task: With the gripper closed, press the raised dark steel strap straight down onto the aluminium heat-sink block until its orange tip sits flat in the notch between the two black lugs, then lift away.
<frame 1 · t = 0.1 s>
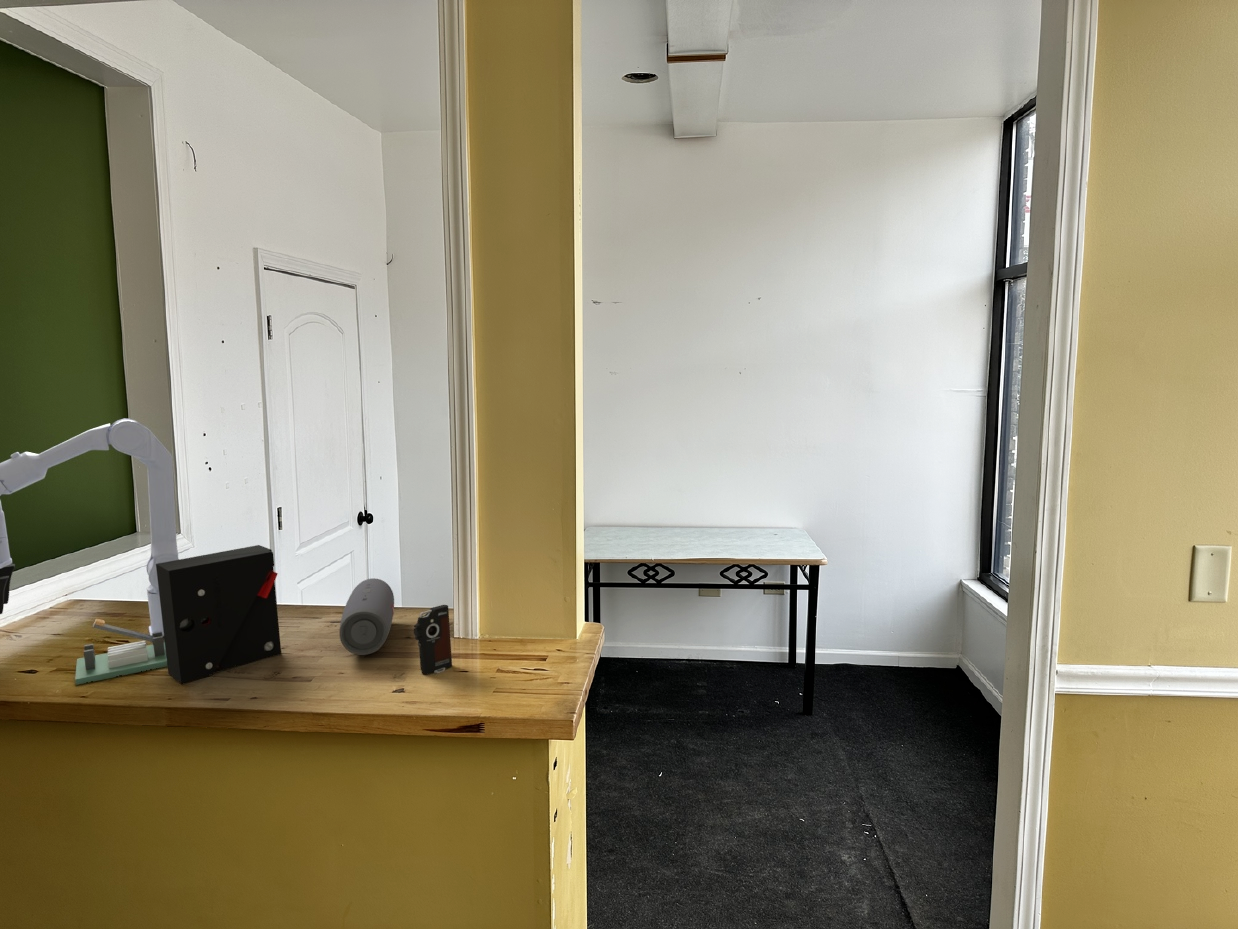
heatsink base: (128, 663, 149), on the worktop
camera: (435, 671, 140), on the worktop
bluetooth speaker: (371, 641, 157), on the worktop
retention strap: (128, 631, 148), point 6 cm above the worktop, hinge at 28.0°
electrical component: (226, 664, 147), on the worktop
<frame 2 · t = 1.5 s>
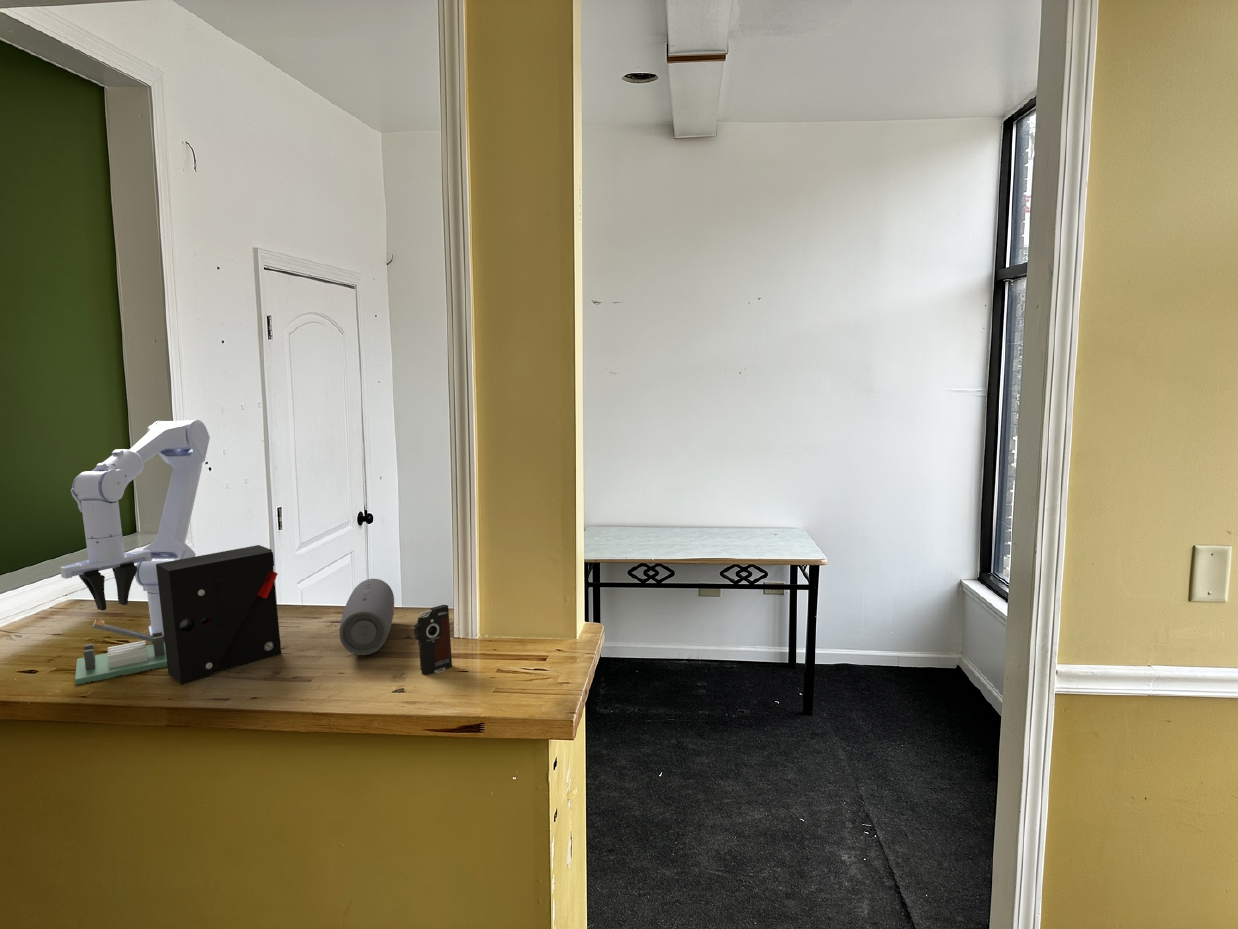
hand: (112, 606, 151), 10 cm above the worktop, tool pointing down, fingers open, 3 cm apart
nothing on the worktop moved.
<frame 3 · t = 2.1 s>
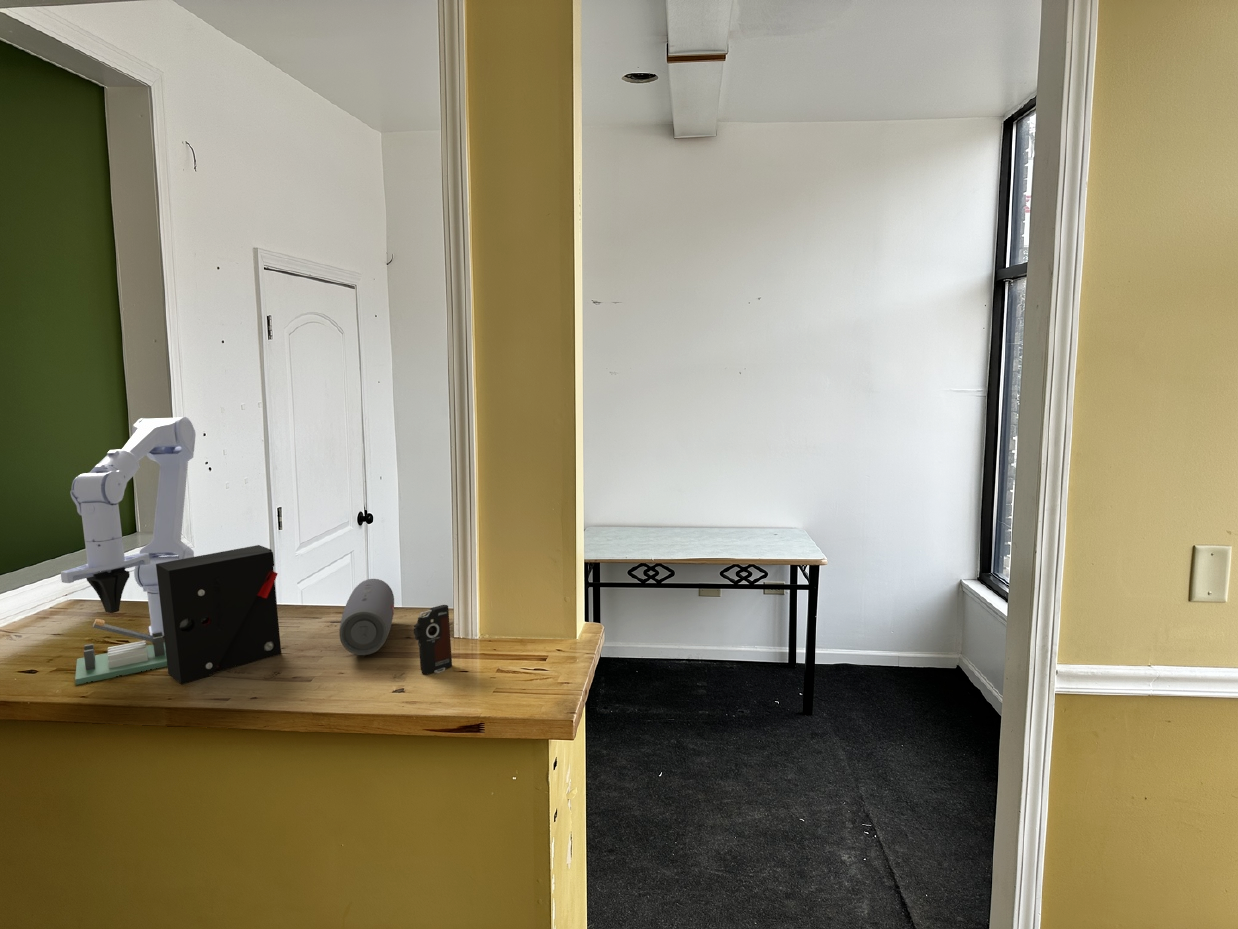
hand: (112, 611, 147), 10 cm above the worktop, tool pointing down, fingers closed
nothing on the worktop moved.
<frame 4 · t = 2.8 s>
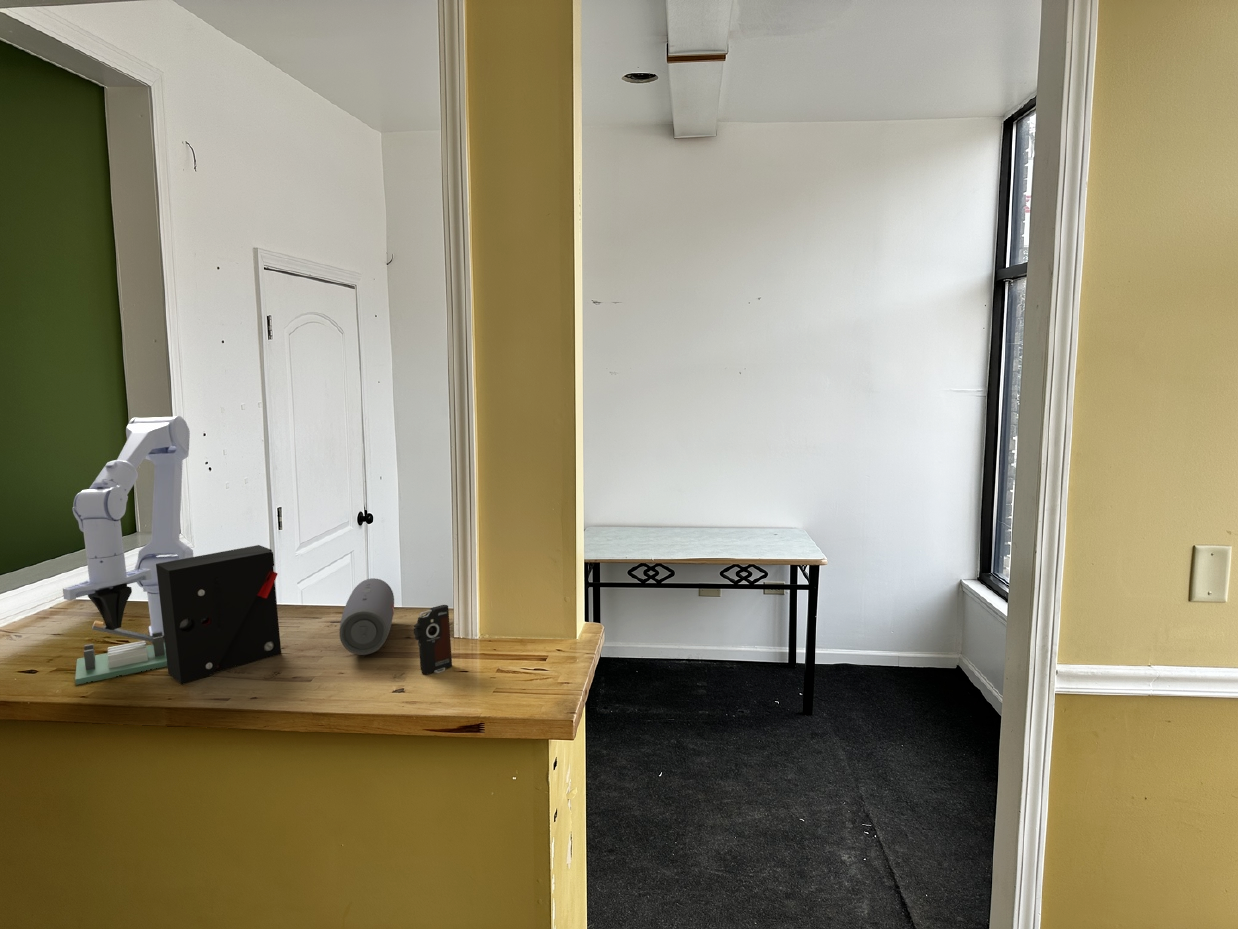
hand: (114, 627, 147), 7 cm above the worktop, tool pointing down, fingers closed
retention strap: (128, 632, 148), point 6 cm above the worktop, hinge at 26.0°, touching gripper
everything else where it was.
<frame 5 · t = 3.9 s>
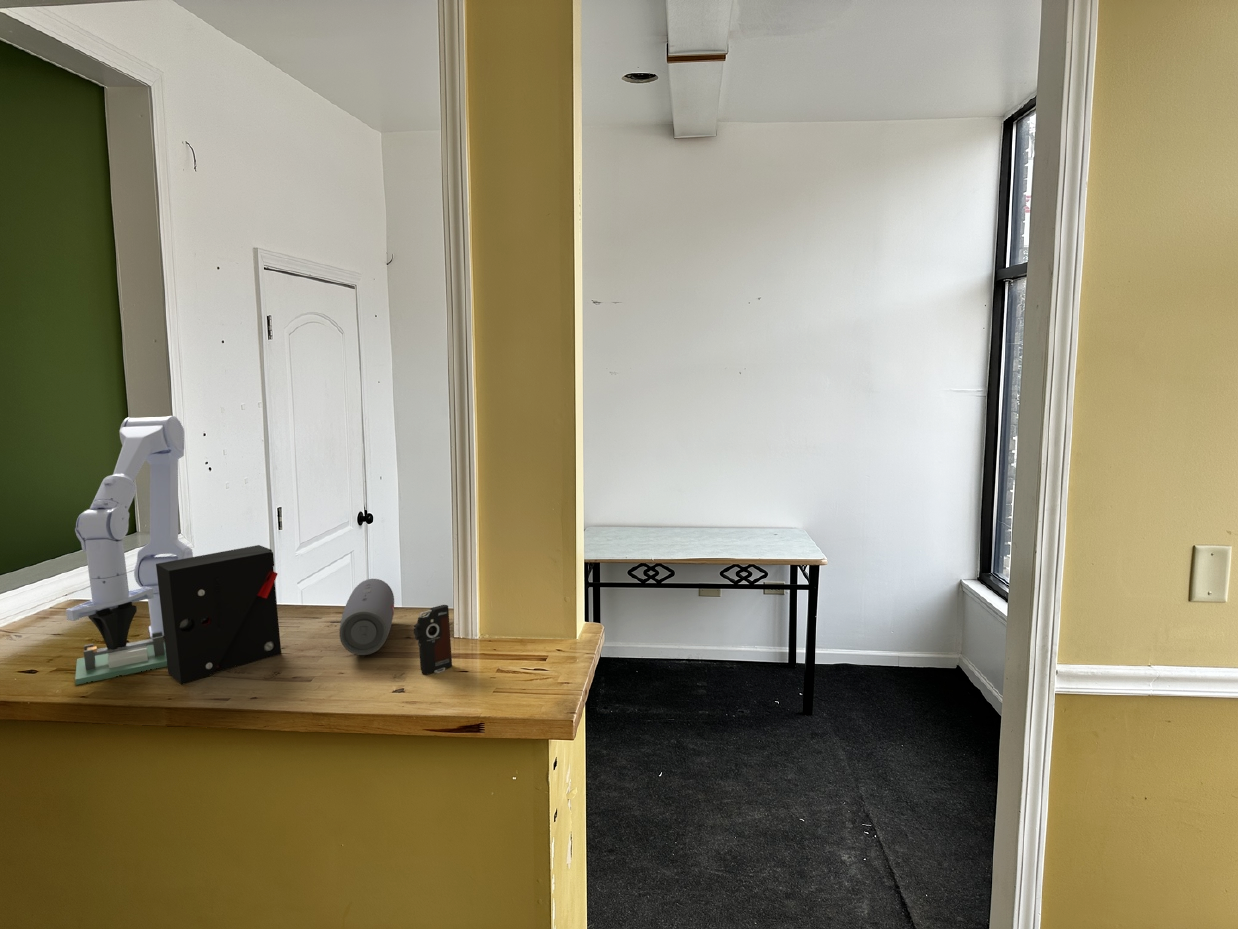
hand: (116, 647, 147), 4 cm above the worktop, tool pointing down, fingers closed, pressing on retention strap
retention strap: (124, 645, 148), point 4 cm above the worktop, hinge at -0.4°, touching gripper, heatsink base
everything else where it was.
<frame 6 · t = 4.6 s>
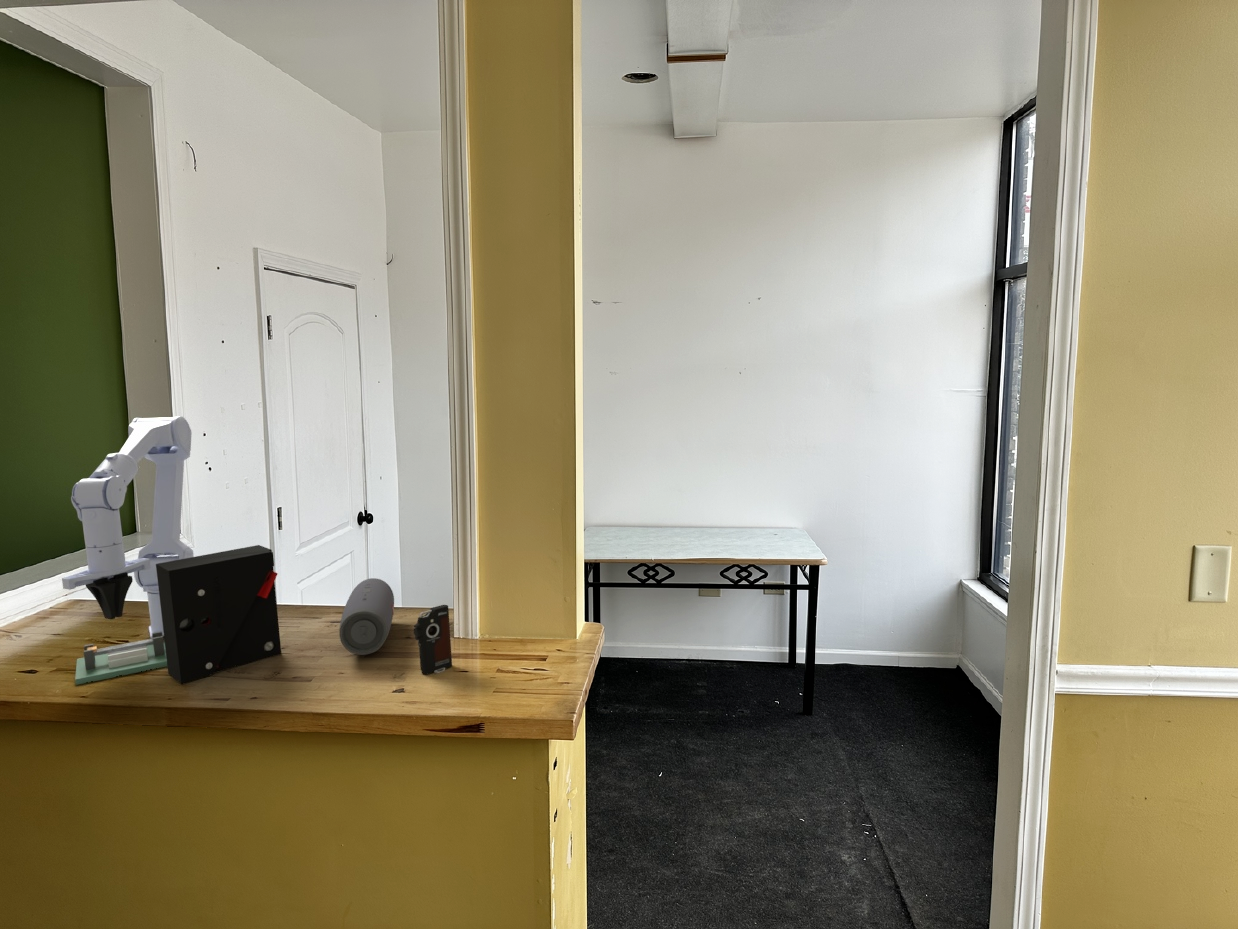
hand: (113, 617, 147), 9 cm above the worktop, tool pointing down, fingers closed
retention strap: (124, 645, 148), point 4 cm above the worktop, hinge at -0.4°, touching heatsink base
everything else where it was.
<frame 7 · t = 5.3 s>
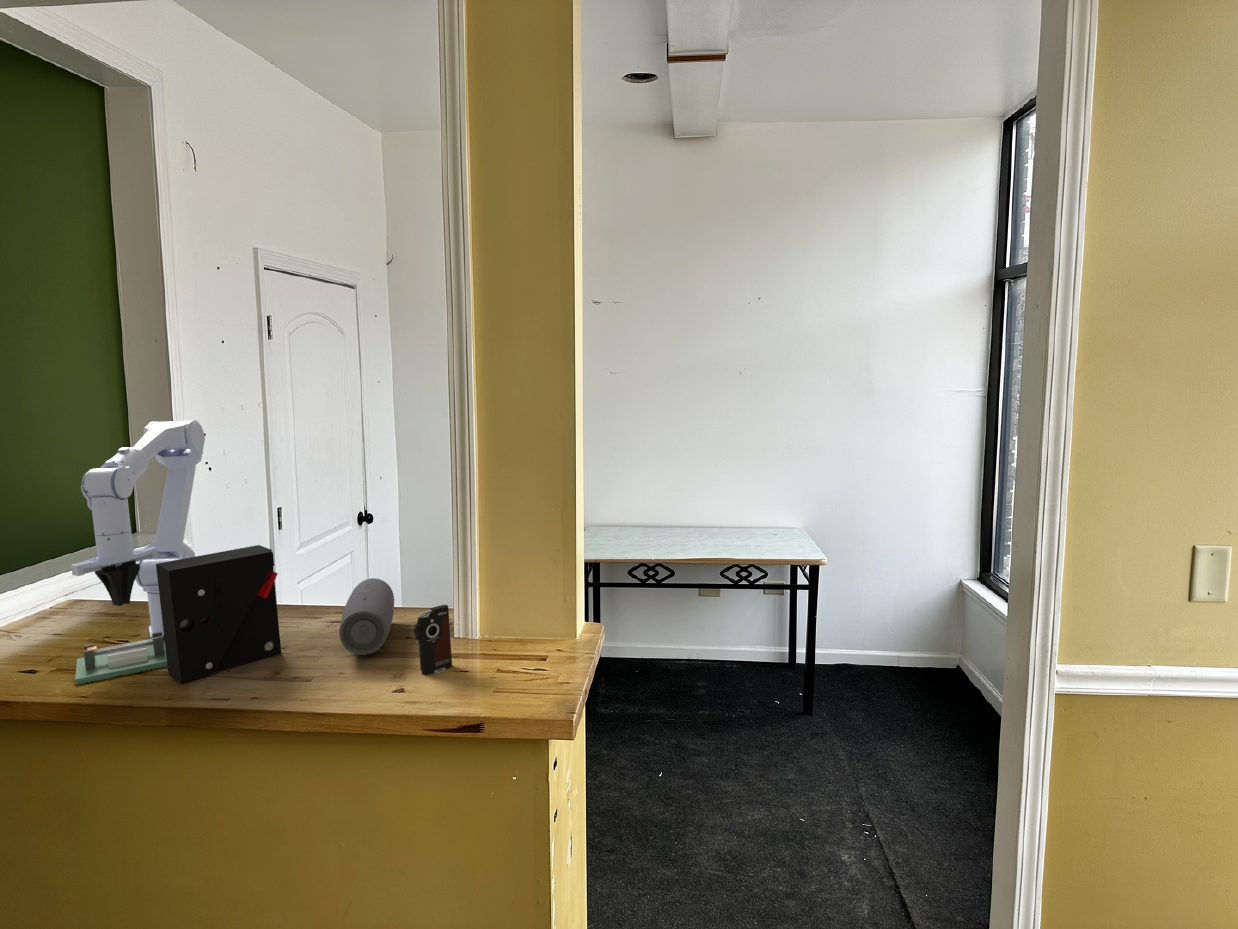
hand: (121, 604, 150), 10 cm above the worktop, tool pointing down, fingers closed
nothing on the worktop moved.
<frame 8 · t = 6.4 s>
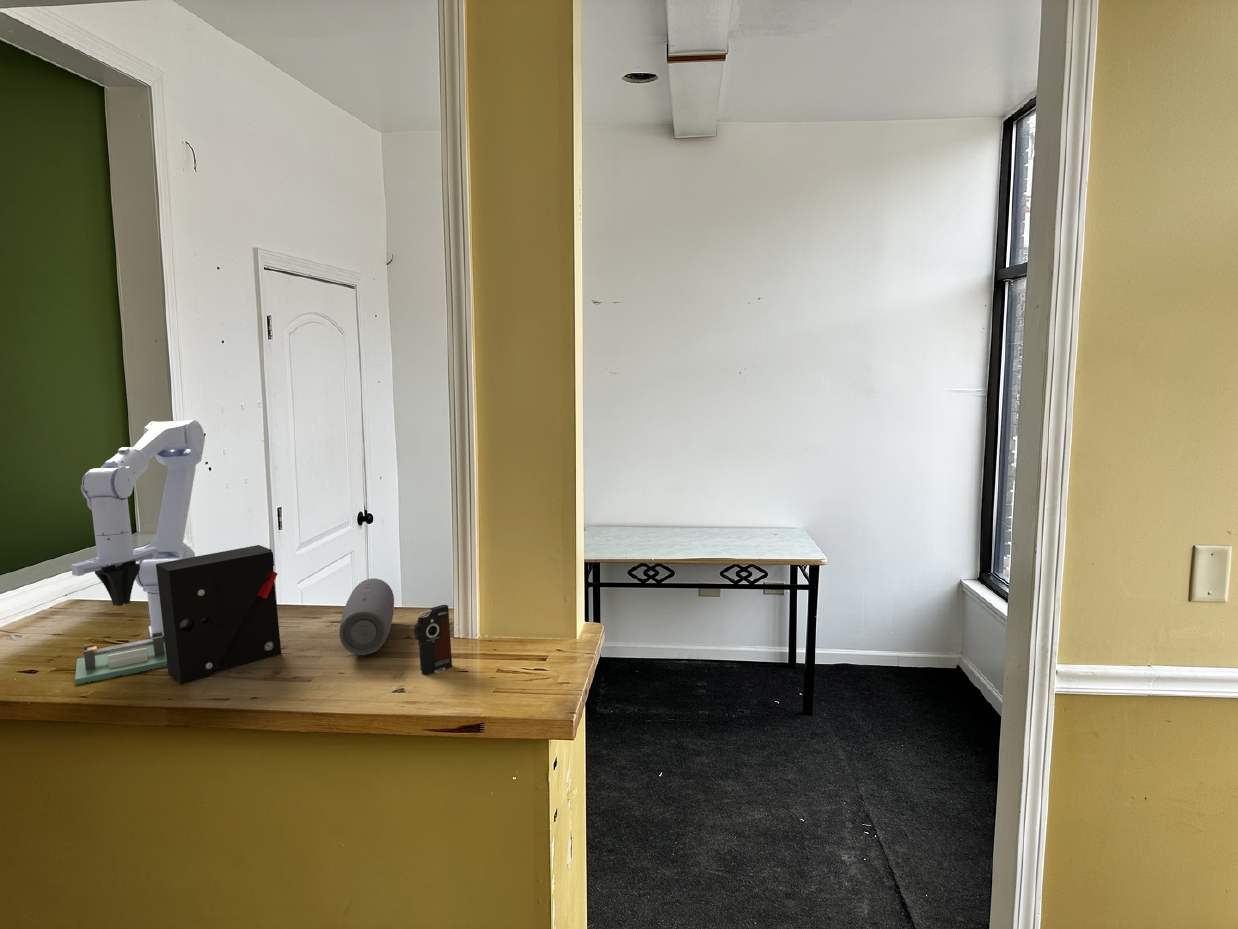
hand: (121, 604, 150), 10 cm above the worktop, tool pointing down, fingers closed
nothing on the worktop moved.
at the end: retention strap at +0° (first picture: +28°); the gripper is holding nothing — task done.
